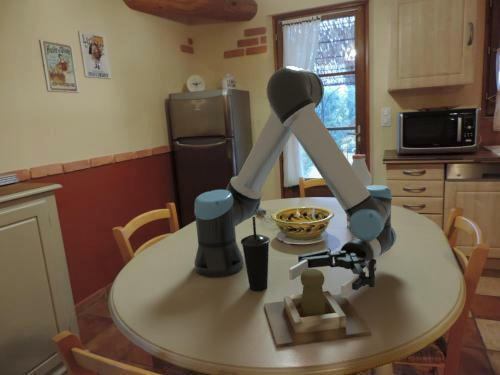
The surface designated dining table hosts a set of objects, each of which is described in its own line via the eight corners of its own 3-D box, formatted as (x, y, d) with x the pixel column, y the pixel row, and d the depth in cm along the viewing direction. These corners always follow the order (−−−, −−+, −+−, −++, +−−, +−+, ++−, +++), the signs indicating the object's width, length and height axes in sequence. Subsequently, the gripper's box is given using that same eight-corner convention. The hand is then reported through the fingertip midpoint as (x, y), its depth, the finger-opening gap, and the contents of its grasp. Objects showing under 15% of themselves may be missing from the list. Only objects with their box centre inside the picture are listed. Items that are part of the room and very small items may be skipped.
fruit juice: (368, 221, 146) (368, 152, 140) (374, 229, 137) (375, 155, 131) (344, 222, 147) (343, 154, 141) (349, 230, 138) (348, 157, 132)
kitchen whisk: (257, 207, 178) (256, 195, 177) (285, 227, 147) (285, 212, 145) (245, 209, 176) (244, 197, 175) (272, 230, 145) (271, 215, 143)
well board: (277, 347, 73) (276, 332, 72) (264, 306, 89) (263, 293, 88) (371, 334, 75) (371, 319, 74) (342, 296, 91) (342, 283, 90)
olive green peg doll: (327, 324, 78) (326, 278, 76) (299, 323, 80) (297, 277, 77) (327, 309, 84) (326, 265, 82) (300, 308, 85) (299, 265, 83)
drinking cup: (256, 278, 104) (251, 211, 99) (277, 285, 99) (274, 215, 95) (238, 289, 98) (233, 218, 94) (261, 297, 93) (256, 223, 89)
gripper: (408, 277, 87) (368, 317, 72) (320, 254, 104) (272, 282, 89) (409, 248, 86) (368, 282, 71) (319, 229, 103) (271, 254, 88)
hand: (314, 282), depth 80 cm, fingers open, 13 cm apart
